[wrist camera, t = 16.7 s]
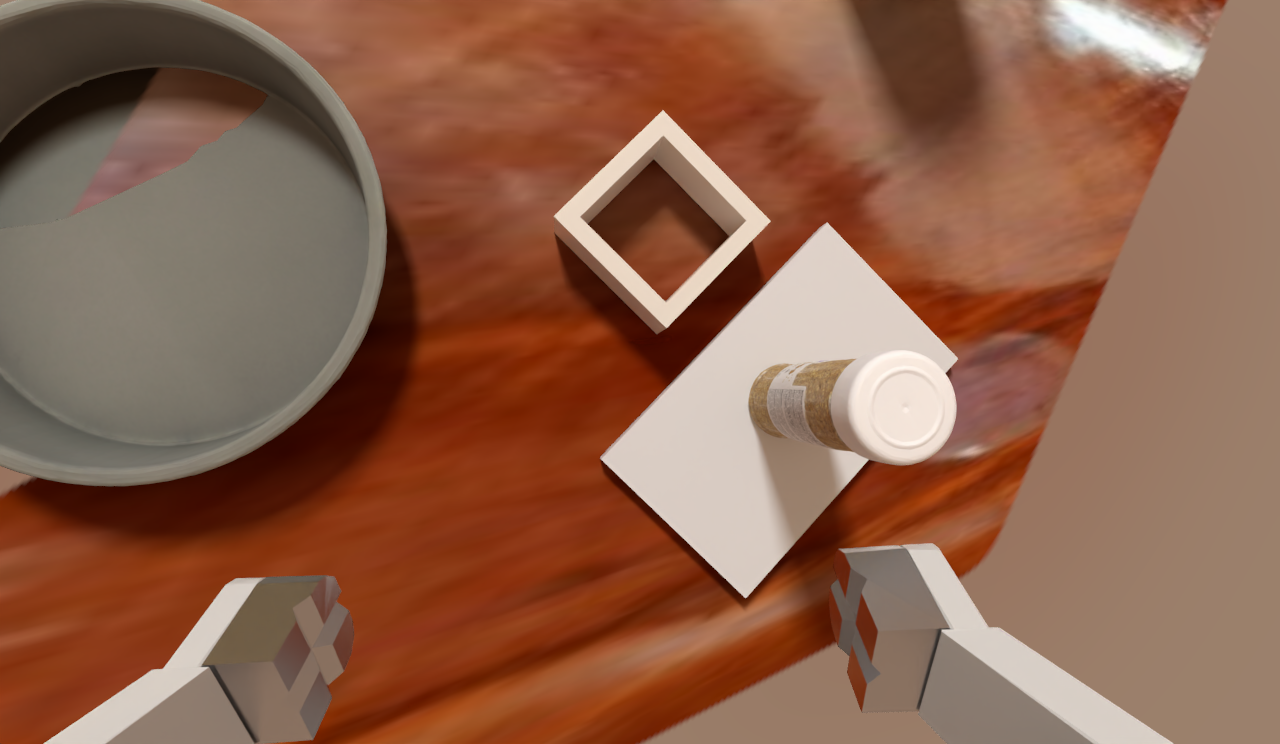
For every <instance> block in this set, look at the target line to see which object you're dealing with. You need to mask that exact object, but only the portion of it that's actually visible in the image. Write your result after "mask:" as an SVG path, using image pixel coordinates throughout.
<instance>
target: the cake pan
mask: <svg viewBox="0 0 1280 744" xmlns="http://www.w3.org/2000/svg"><path fill="white" fill-rule="evenodd" d="M161 67H164V68H182V69H193V70H201V71H206V72H211V73H215V74H218V75H222V76H226V77H229V78H232V79H235V80H238V81H240V82H243V83H245V84H247V85H250V86H252V87H254V88H256V89H258V90H260V91H262V92H264V93H266V94H268V96H267V98H266V100H265V101H264V103H263V105H262V106H260V107H259V108H258V109H257V110H256V111H255V112H254V113H252V114H251V115H250V116H249V117H248V118H247V119H246V120H245V121H243V122H242V123H241V124H240V125H239V126H238V127H237V128H234V129H231V130H228V131H225V132H224V133H223V135H222V136H221V137H220V138H219V139H218V141H215V142H212V143H209V144H206V145H203V146H201V147H200V148H199V149H198V150H197V151H196V152H195V154H194V155H193V156H192V157H191V158H190V159H189V160H188V161H187V162H185V163H183V164H181V165H179V166H177V167H175V168H173V169H171V170H169V171H167V172H165V173H163V174H161V175H159V176H157V177H155V178H152V179H150V180H148V181H146V182H144V183H142V184H139V185H137V186H135V187H133V188H131V189H129V190H127V191H124V192H122V193H120V194H118V195H116V196H113V197H111V198H109V199H107V200H105V201H103V202H100V203H98V204H96V205H94V206H92V207H90V208H87V209H85V210H83V211H81V212H79V213H77V214H75V215H72V216H71V214H72V212H73V210H74V208H75V207H76V206H77V204H78V203H79V201H80V200H81V198H82V195H83V194H84V192H85V191H86V189H87V188H88V186H89V185H90V183H91V181H92V179H93V177H94V176H95V174H96V173H97V171H98V170H99V168H100V167H101V165H102V163H103V161H104V159H105V158H106V156H107V155H108V153H109V152H110V150H111V149H112V146H113V144H114V143H115V141H116V140H117V138H118V137H119V136H120V134H121V132H122V130H123V128H124V126H125V125H126V123H127V122H128V121H129V119H130V118H131V116H132V113H133V111H134V110H135V108H136V107H137V106H138V104H139V103H140V101H141V99H142V97H143V95H144V93H145V92H146V91H147V89H148V88H149V86H150V85H151V83H152V80H153V79H154V77H155V76H156V74H157V73H158V71H159V70H160V68H161ZM386 245H387V226H386V216H385V205H384V200H383V194H382V189H381V184H380V180H379V177H378V174H377V171H376V168H375V164H374V161H373V158H372V155H371V152H370V150H369V148H368V146H367V143H366V141H365V138H364V136H363V134H362V132H361V131H360V129H359V127H358V125H357V123H356V121H355V120H354V118H353V117H352V115H351V114H350V113H349V111H348V110H347V108H346V106H345V105H344V103H343V102H342V100H341V99H340V98H339V97H338V95H337V94H336V93H335V91H334V90H333V89H332V87H331V86H330V85H329V84H328V83H327V82H326V81H325V79H324V78H323V77H322V76H321V75H320V74H319V73H318V72H317V71H316V70H315V69H314V68H313V67H312V66H311V65H310V64H309V63H308V62H306V61H305V60H304V59H303V58H302V57H301V56H299V55H298V54H297V53H296V52H295V51H293V50H292V49H291V48H289V47H288V46H287V45H285V44H284V43H283V42H281V41H280V40H278V39H277V38H276V37H274V36H272V35H271V34H269V33H268V32H266V31H265V30H263V29H261V28H260V27H258V26H256V25H255V24H253V23H251V22H250V21H248V20H246V19H244V18H242V17H239V16H237V15H235V14H232V13H230V12H228V11H226V10H223V9H221V8H219V7H216V6H214V5H211V4H208V3H205V2H202V1H199V0H17V1H13V2H10V3H7V4H4V5H2V6H0V466H2V467H5V468H8V469H11V470H13V471H16V472H19V473H23V474H27V475H30V476H35V477H38V478H42V479H46V480H52V481H57V482H63V483H71V484H80V485H90V486H132V485H142V484H152V483H158V482H164V481H171V480H175V479H178V478H184V477H187V476H193V475H197V474H200V473H203V472H206V471H209V470H212V469H214V468H217V467H220V466H222V465H225V464H227V463H229V462H232V461H234V460H236V459H238V458H240V457H242V456H245V455H247V454H249V453H250V452H252V451H254V450H256V449H258V448H259V447H261V446H262V445H264V444H265V443H267V442H269V441H271V440H272V439H274V438H275V437H277V436H278V435H280V434H281V433H282V432H284V431H285V430H286V429H288V428H289V427H290V426H292V425H293V424H295V423H296V422H297V421H298V420H299V419H300V418H301V417H302V416H304V415H305V414H306V413H307V412H308V411H309V410H310V409H311V408H312V407H313V406H314V405H316V403H317V402H318V401H319V400H321V399H322V398H323V396H324V395H325V394H326V393H327V392H328V391H329V389H330V388H331V387H332V386H333V385H334V384H335V382H336V381H337V380H338V379H339V378H340V377H341V375H342V373H343V372H344V371H345V369H346V368H347V366H348V365H349V363H350V361H351V360H352V358H353V356H354V354H355V353H356V351H357V350H358V348H359V347H360V345H361V342H362V340H363V339H364V337H365V335H366V333H367V330H368V327H369V325H370V322H371V321H372V319H373V315H374V312H375V309H376V306H377V302H378V298H379V295H380V291H381V287H382V283H383V277H384V272H385V264H386V252H387V248H386Z"/></svg>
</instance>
